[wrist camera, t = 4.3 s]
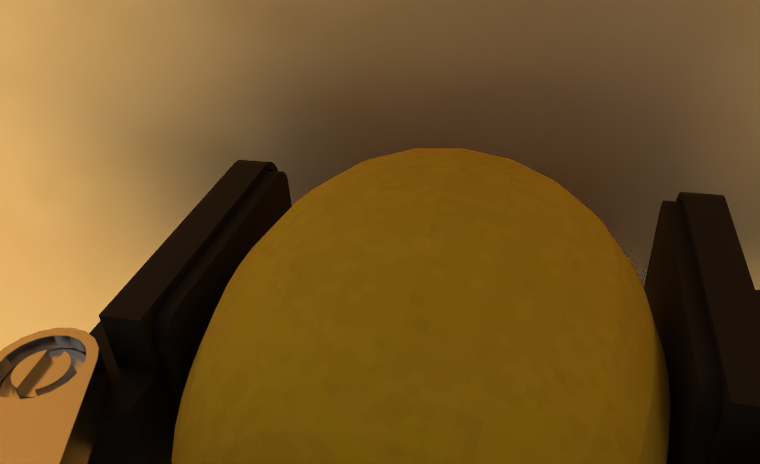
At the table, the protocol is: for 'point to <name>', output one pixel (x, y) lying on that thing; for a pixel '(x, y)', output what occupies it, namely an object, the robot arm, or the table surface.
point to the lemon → (430, 329)
